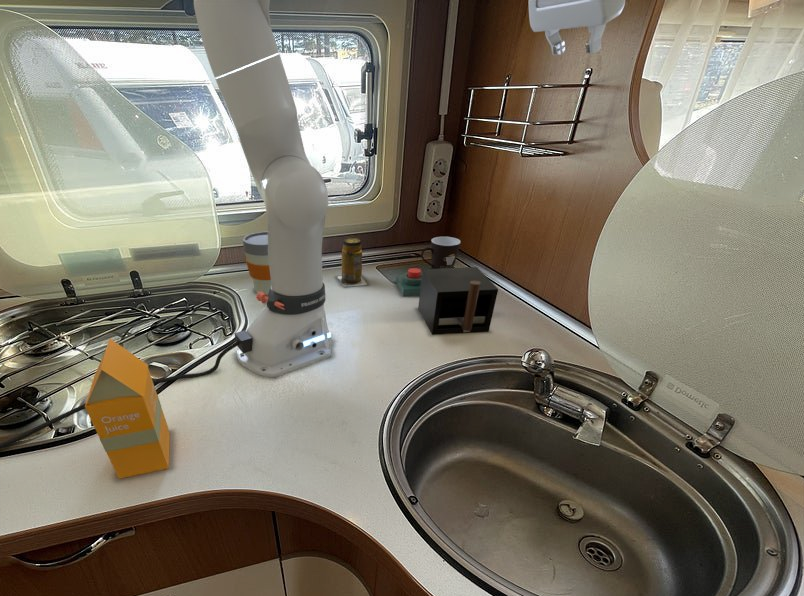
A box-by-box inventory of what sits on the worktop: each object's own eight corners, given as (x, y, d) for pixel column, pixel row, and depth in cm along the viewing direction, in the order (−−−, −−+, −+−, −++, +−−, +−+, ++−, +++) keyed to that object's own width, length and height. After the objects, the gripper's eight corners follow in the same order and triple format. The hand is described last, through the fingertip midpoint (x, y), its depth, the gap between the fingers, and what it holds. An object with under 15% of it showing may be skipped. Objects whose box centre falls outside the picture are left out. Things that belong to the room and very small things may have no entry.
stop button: (421, 279, 120) (422, 272, 119) (409, 279, 120) (409, 273, 118) (418, 274, 123) (419, 267, 121) (406, 274, 122) (407, 268, 121)
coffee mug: (453, 268, 136) (458, 236, 130) (457, 278, 129) (462, 245, 123) (417, 267, 137) (420, 236, 131) (418, 277, 130) (422, 245, 124)
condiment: (359, 274, 133) (360, 236, 125) (367, 285, 126) (368, 244, 119) (337, 276, 131) (336, 238, 124) (343, 287, 125) (343, 247, 118)
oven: (488, 332, 102) (498, 289, 95) (431, 335, 101) (437, 292, 95) (469, 306, 113) (476, 266, 107) (417, 309, 112) (422, 269, 106)
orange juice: (117, 479, 66) (67, 374, 54) (124, 441, 73) (81, 341, 61) (170, 468, 68) (132, 364, 56) (171, 432, 75) (138, 333, 63)
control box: (430, 295, 119) (432, 281, 117) (402, 296, 119) (404, 283, 117) (422, 281, 127) (423, 268, 125) (395, 282, 127) (396, 269, 125)
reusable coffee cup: (286, 299, 118) (281, 246, 110) (243, 297, 120) (235, 244, 111) (296, 282, 128) (292, 231, 120) (256, 280, 130) (250, 230, 121)
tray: (491, 333, 97) (502, 283, 90) (443, 335, 97) (451, 285, 89) (467, 303, 110) (476, 257, 103) (425, 305, 110) (431, 259, 102)
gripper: (514, -20, 79) (526, 63, 87) (594, -41, 63) (599, 62, 72) (545, -40, 78) (554, 45, 87) (633, -67, 62) (634, 40, 71)
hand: (575, 53), depth 79 cm, fingers open, 8 cm apart
